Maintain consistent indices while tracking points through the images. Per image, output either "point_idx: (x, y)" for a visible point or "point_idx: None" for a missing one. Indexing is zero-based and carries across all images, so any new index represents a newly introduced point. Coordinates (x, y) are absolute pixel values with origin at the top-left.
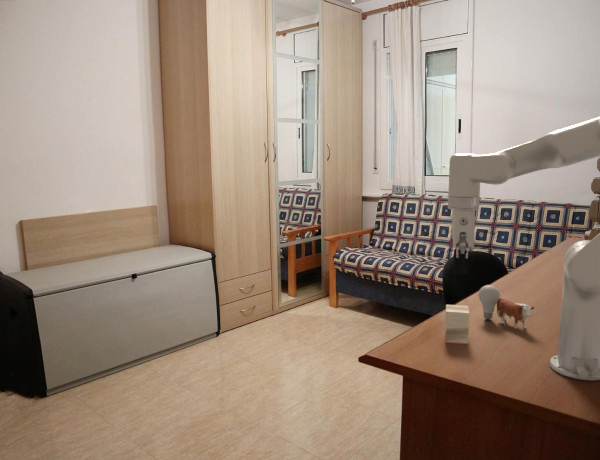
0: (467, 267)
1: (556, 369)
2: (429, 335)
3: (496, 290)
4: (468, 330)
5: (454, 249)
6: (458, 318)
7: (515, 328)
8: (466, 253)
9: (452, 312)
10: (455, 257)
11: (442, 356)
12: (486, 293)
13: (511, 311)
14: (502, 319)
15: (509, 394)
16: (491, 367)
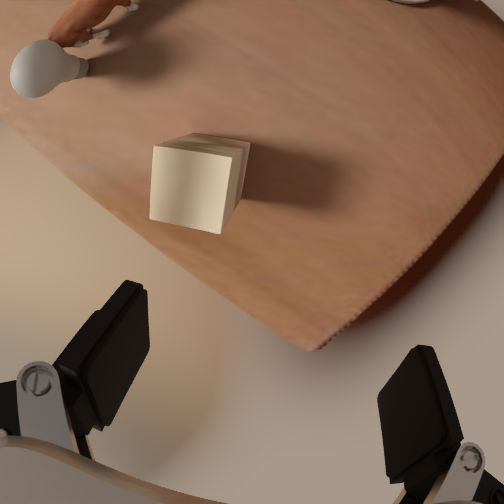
0: (440, 381)
1: (415, 2)
2: None
3: (34, 48)
4: (244, 148)
5: (101, 430)
6: (230, 187)
7: (138, 8)
8: (471, 485)
9: (223, 213)
10: (394, 483)
11: (328, 225)
12: (44, 76)
13: (105, 9)
14: (98, 35)
15: (495, 152)
16: (394, 130)
